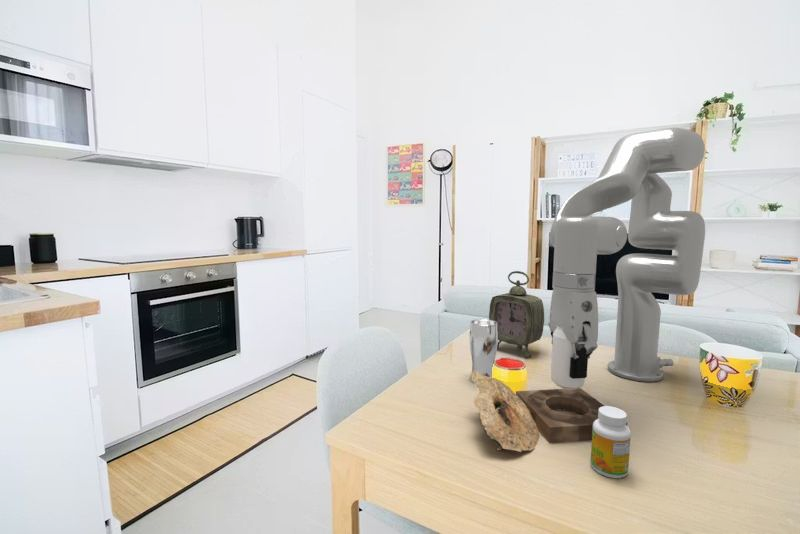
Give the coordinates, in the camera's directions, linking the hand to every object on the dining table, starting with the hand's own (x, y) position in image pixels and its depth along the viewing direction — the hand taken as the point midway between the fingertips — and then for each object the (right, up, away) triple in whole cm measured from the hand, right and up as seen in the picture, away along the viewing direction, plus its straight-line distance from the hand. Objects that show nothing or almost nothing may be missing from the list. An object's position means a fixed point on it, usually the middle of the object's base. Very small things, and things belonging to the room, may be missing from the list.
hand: (568, 370), depth 76 cm
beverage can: (0, -3, +1) cm, 3 cm away
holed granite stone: (-13, -11, -3) cm, 18 cm away
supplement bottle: (0, -12, -14) cm, 19 cm away
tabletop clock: (+3, -6, +43) cm, 43 cm away
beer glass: (-13, -8, +21) cm, 26 cm away
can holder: (0, -10, +1) cm, 10 cm away
